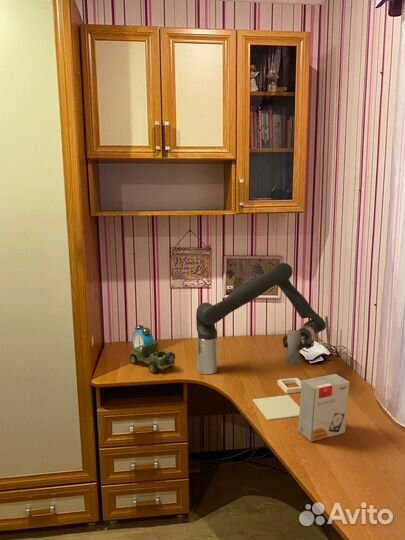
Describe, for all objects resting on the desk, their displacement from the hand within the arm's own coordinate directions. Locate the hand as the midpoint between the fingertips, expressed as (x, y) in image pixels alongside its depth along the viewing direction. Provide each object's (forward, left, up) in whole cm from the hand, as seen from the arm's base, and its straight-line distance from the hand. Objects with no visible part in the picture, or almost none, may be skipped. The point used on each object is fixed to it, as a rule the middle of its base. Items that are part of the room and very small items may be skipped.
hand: (291, 347), depth 180 cm
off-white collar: (+2, +2, -20) cm, 20 cm away
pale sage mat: (-11, -13, -20) cm, 26 cm away
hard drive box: (-3, -33, -20) cm, 39 cm away
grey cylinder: (+2, +2, -8) cm, 8 cm away
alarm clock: (-58, +58, -20) cm, 84 cm away
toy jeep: (-55, +40, -20) cm, 71 cm away
